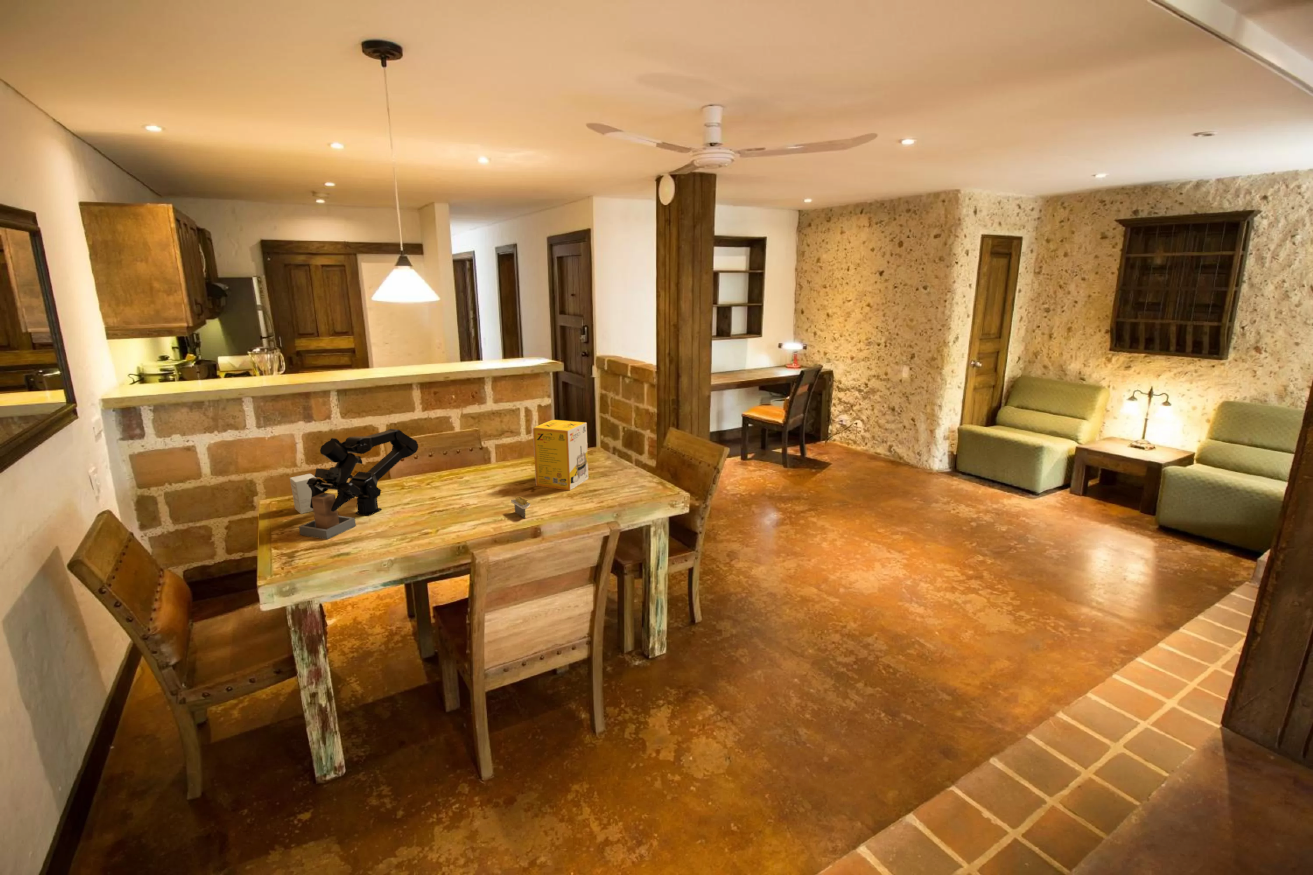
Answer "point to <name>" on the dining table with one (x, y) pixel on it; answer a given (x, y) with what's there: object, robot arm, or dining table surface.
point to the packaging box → (560, 454)
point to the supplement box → (301, 493)
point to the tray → (312, 531)
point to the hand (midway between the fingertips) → (321, 509)
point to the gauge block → (324, 511)
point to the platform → (520, 505)
